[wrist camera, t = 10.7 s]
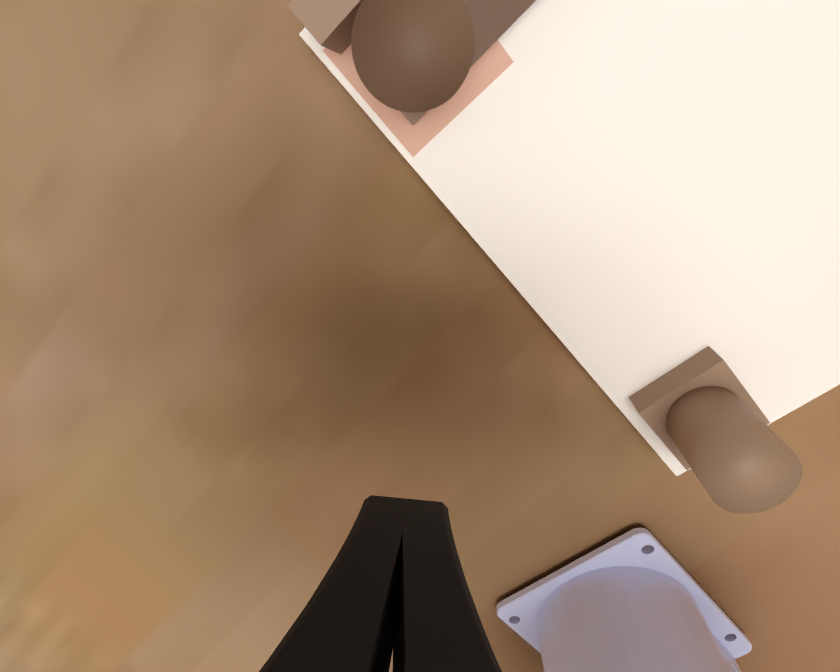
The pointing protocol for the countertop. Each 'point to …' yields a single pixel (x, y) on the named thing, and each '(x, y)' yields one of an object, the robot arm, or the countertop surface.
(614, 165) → the white board with posts
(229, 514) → the countertop surface
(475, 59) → the hinged leg
